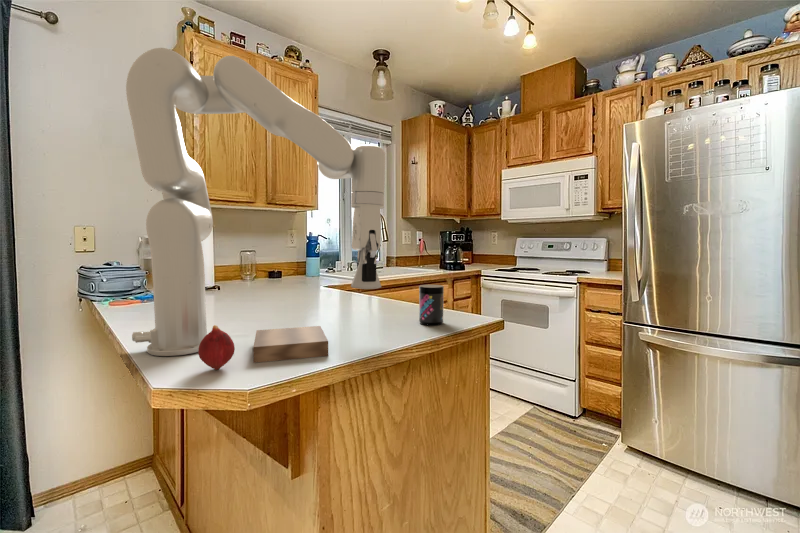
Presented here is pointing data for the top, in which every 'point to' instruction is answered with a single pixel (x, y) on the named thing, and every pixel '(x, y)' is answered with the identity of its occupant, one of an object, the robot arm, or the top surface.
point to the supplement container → (431, 304)
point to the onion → (216, 348)
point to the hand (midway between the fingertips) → (366, 279)
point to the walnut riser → (289, 343)
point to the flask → (357, 278)
